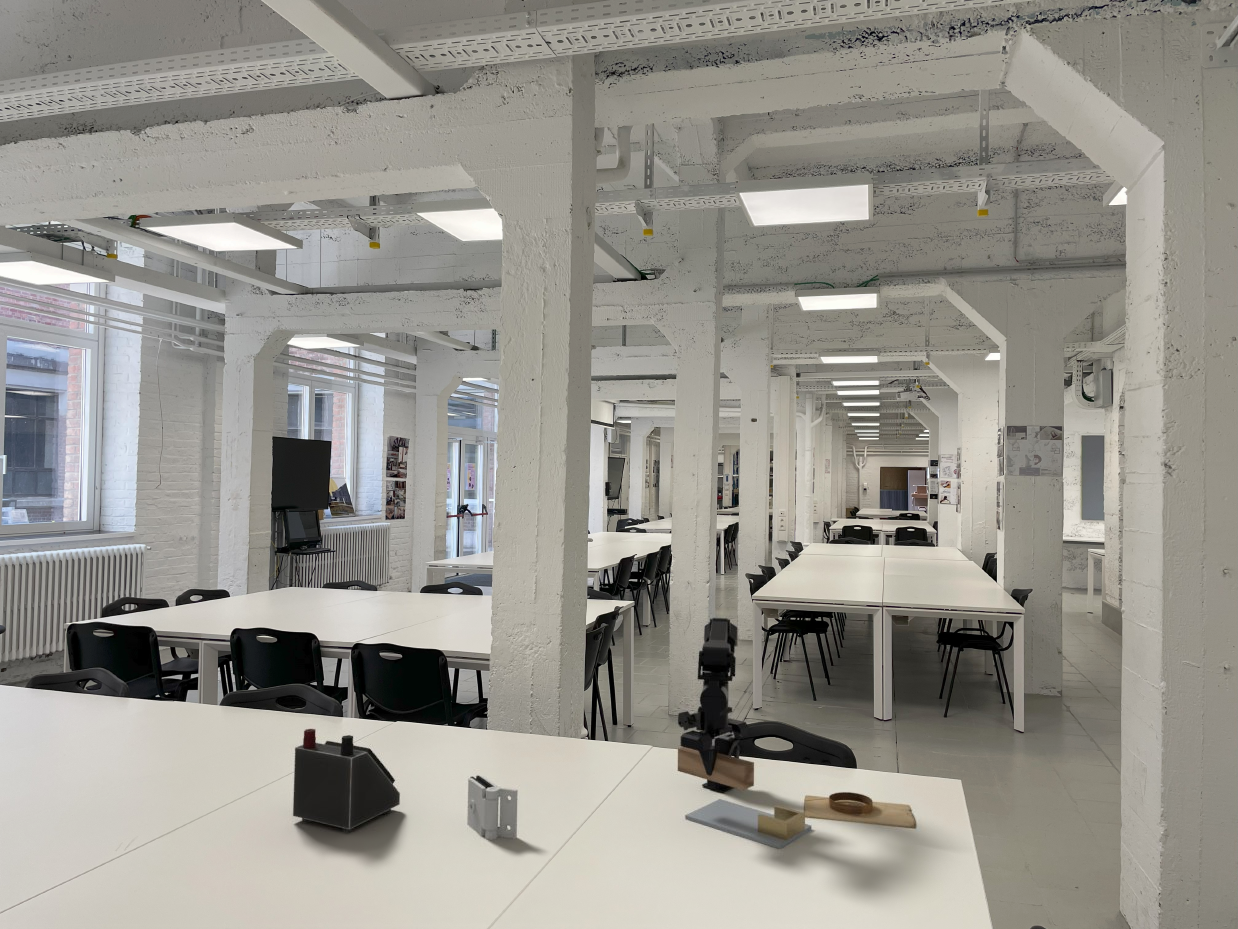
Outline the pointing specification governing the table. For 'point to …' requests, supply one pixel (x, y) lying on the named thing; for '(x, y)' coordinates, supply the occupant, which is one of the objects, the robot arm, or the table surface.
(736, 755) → the robot arm
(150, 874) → the table surface
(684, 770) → the walnut rail
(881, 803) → the board
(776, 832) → the cup bracket
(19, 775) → the table surface
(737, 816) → the mounting board
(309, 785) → the voltmeter
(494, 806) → the hinge
